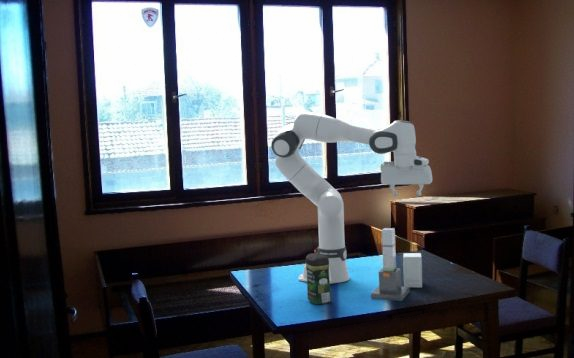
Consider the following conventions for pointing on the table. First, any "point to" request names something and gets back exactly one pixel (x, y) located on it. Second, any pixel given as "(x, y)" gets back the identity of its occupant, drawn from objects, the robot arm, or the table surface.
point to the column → (389, 249)
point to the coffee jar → (318, 278)
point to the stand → (390, 286)
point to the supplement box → (412, 269)
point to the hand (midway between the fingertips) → (407, 195)
